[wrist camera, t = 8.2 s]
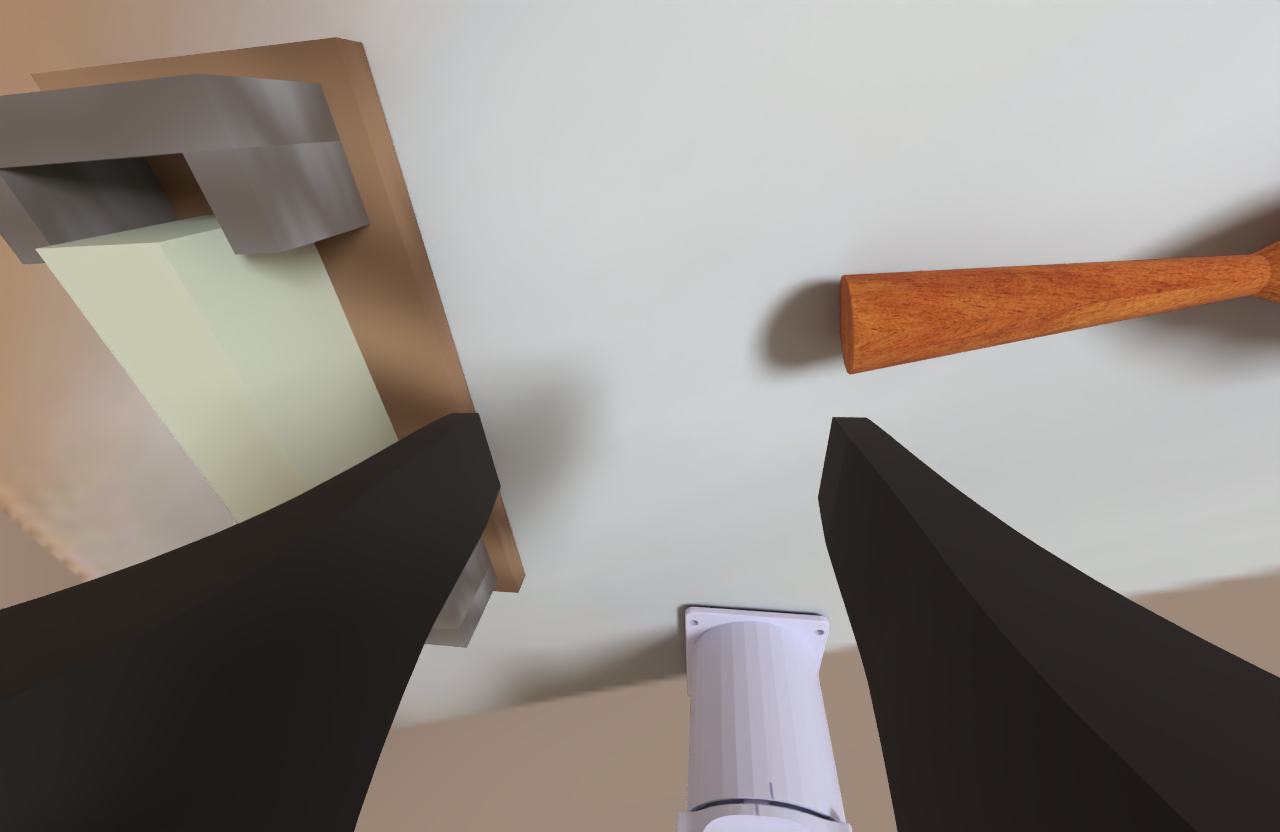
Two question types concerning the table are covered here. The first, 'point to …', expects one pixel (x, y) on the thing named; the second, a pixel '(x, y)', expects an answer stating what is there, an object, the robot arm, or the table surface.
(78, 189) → the cradle
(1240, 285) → the brown piece
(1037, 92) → the table surface
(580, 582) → the table surface
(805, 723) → the robot arm
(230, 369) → the slat
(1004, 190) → the table surface
